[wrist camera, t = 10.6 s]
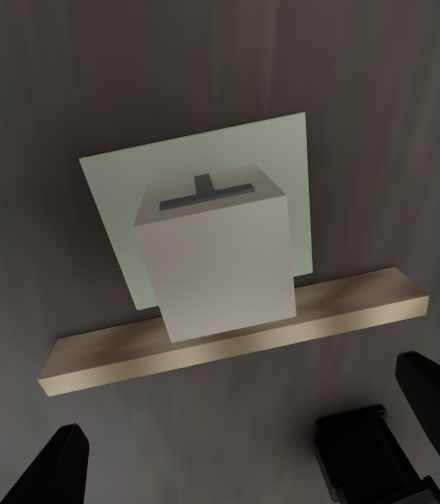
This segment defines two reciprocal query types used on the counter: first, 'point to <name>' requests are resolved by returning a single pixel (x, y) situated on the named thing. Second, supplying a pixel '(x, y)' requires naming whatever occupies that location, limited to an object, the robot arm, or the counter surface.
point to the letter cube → (217, 251)
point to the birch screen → (231, 333)
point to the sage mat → (195, 163)
